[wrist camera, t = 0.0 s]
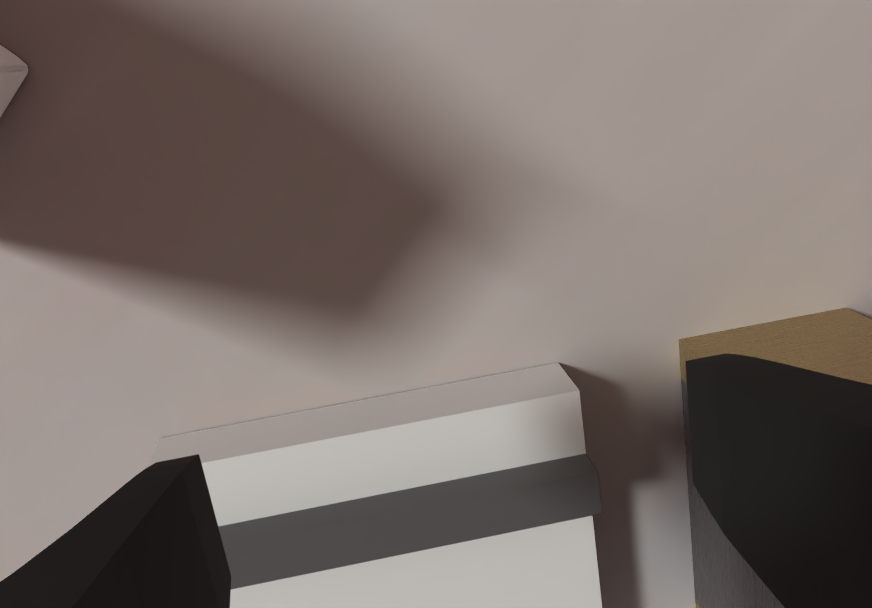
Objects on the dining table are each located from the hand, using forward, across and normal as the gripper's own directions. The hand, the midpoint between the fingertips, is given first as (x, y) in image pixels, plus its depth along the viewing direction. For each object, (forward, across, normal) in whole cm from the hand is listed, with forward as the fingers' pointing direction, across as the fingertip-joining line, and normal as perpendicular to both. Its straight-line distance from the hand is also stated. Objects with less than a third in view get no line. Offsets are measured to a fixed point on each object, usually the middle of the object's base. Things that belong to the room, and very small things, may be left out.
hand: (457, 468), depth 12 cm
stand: (+10, +2, +10) cm, 14 cm away
